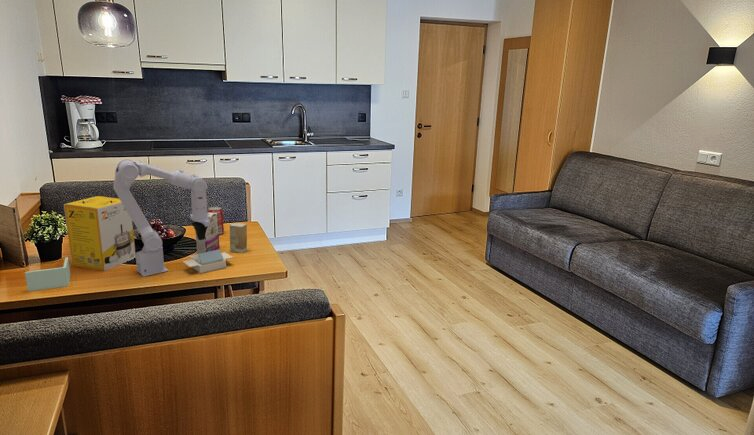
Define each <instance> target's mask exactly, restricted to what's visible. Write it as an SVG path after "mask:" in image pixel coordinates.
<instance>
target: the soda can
mask: <svg viewBox="0 0 754 435" xmlns="http://www.w3.org/2000/svg"><path fill="white" fill-rule="evenodd" d="M209 212H210V213H217V217H218V232H219V236H221V235H223V233H225V232H224V231H225V229H224V227H225V226H224V214H223V213H224V212H223V209H222V207H220V206H210V207H207V213H209Z"/></svg>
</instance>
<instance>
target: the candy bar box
mask: <svg viewBox="0 0 754 435" xmlns="http://www.w3.org/2000/svg"><path fill="white" fill-rule="evenodd" d="M207 216H210V218H209V221H210V226H208V228H207V230H206V234H205V239H204V240H198V237H197V234H196V231H195V230H194V231H195V232H194V233H195V241H196V242H195V243H196V254H199V253H204V252H209V251H214V250H219V249H220V235H219V232H218V217H217V213H210V212H209V213H207ZM194 222H196V221H194Z"/></svg>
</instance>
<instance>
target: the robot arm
mask: <svg viewBox="0 0 754 435" xmlns="http://www.w3.org/2000/svg"><path fill="white" fill-rule="evenodd" d="M114 170H115V171H114V178H113V179H114V181H113V190H114V192H115V194H116V195H117V198H118V199H120V200H121V202H122V204H123V205H124V207H125V209H126V210H127V212H128V214H129V215H130V217H131V219H132V223H134V224H133V225H135V227H136V229H137V231H138V232H139V235H140V236H141V241H142V243H143V247H142V248H141V250H139V251H137V252H135V254H136V258H135V262H136V272H138V273H139V274H140V275H141V276H142V277H147V276H148V277H149V276H151V275H156V274H161V273H166V272H169V269H167V268H166V267H165V261H164V259H165V258H164V249H163V248H164V247H163V240H162V238H161V237H160V234H159V233H158V232H157V230H155V229H154V228H152V226H151V225H150V223H149V221H148V219H147V217H146V216H145V214H144V213H143V211H142V209H141V207H140V205H139V203H137V201H136V199H135V197H134V195H133V193H132V192H131V190H130V188H131V186H132V184H133V182H134V181H135V180H136V179H137V178H138V177H140V178H143V177H145V176H152V177H156V178H160V179H162V180H167V181H169V182H170V184H171V185H173V186H176V187H180V188H182V189H187V190H190V192H191V193H190V195H191V196H190V197H191V198H190V201H191V213H190V214H189V215H190V219H191V220H192V221H193V222H191V225H192V227H193V229H194V231H196V232H195V235H196V234H197V237H198V240H204V239H205V234H206V230H207V228H208V226H210V221H209V218H210V216H207V212H208V203H207V201H208V199H207V190H208V184H207V181H206V180H205V179H204V178H203V177H201V176H198V175H196V174H189V173H186V172H184V170H182V169H179V170H177V169H175V170H173V171H170V170H166V169H163V168H159V167H158V166H154V165H152V164H148V163H145V162H141V161H137V160H136V161H133V160H131V159H122V160H120V161H119V162H118V164H117V166H116V167H115V169H114ZM195 221H196V222H195Z"/></svg>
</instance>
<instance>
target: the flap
mask: <svg viewBox="0 0 754 435" xmlns="http://www.w3.org/2000/svg"><path fill="white" fill-rule="evenodd" d="M221 253H222V252H221V250H220V248H218V249H217V250H214V251H209V252H204V253H199V254H198V257H199V259H200V262H201V264H205V263H210V262H214V261H219V260H223V256H222V254H221Z"/></svg>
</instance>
